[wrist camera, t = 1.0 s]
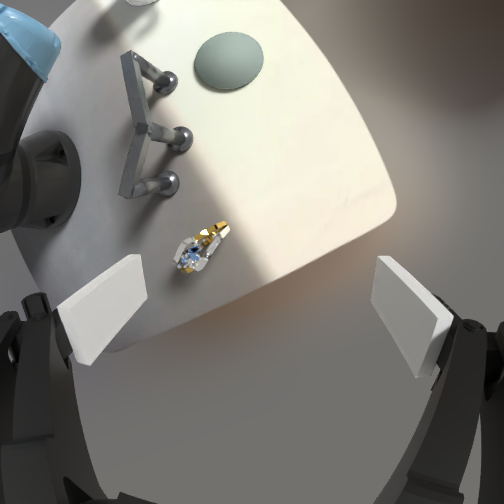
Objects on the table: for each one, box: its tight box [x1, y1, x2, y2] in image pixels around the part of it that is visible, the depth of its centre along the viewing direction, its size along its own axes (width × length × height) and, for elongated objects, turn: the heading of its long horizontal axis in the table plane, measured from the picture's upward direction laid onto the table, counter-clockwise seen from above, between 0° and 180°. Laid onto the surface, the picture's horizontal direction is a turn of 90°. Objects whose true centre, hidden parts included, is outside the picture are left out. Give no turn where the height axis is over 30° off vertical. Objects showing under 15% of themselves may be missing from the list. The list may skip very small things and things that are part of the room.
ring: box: [173, 221, 230, 273], centre depth 29 cm, size 7×3×8 cm, turn 124°
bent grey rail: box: [118, 50, 193, 199], centre depth 24 cm, size 8×15×10 cm, turn 161°
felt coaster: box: [195, 32, 263, 89], centre depth 26 cm, size 8×8×1 cm
